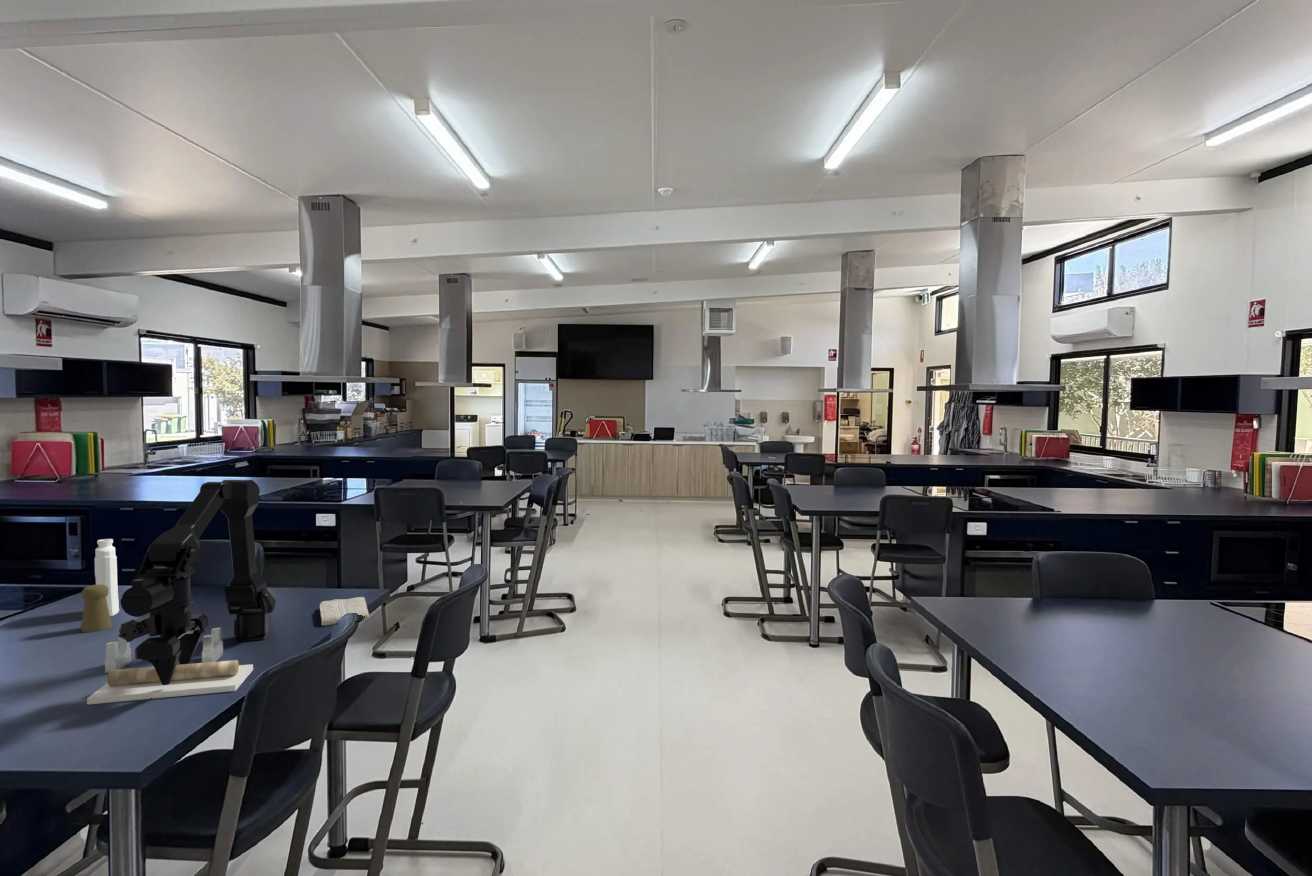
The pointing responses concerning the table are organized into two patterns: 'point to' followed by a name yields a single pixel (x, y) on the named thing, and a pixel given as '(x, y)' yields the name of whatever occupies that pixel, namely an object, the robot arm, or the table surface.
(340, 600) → the washcloth
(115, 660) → the aluminium cradles
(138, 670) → the beech dowel
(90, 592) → the cork
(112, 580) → the squeeze bottle
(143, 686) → the cutting board
